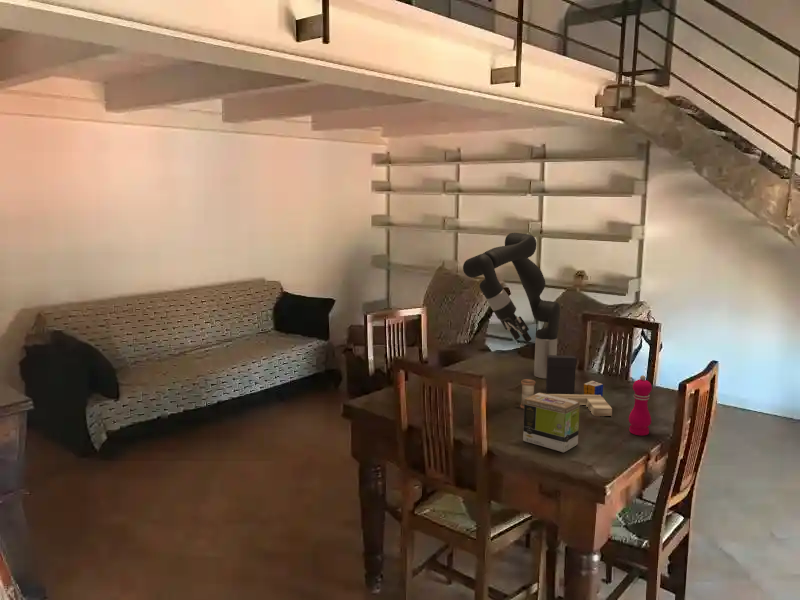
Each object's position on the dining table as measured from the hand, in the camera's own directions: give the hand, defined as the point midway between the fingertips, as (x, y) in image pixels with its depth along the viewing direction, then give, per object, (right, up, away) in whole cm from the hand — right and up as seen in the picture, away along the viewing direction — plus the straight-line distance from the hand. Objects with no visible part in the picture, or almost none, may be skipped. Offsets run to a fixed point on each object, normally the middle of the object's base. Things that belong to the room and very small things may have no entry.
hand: (523, 339), depth 241 cm
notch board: (+22, -26, +6) cm, 35 cm away
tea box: (+4, -32, -27) cm, 42 cm away
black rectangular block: (+20, -23, +26) cm, 40 cm away
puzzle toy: (+31, -24, +21) cm, 45 cm away
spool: (+3, -26, +8) cm, 27 cm away
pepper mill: (+36, -31, -17) cm, 50 cm away
